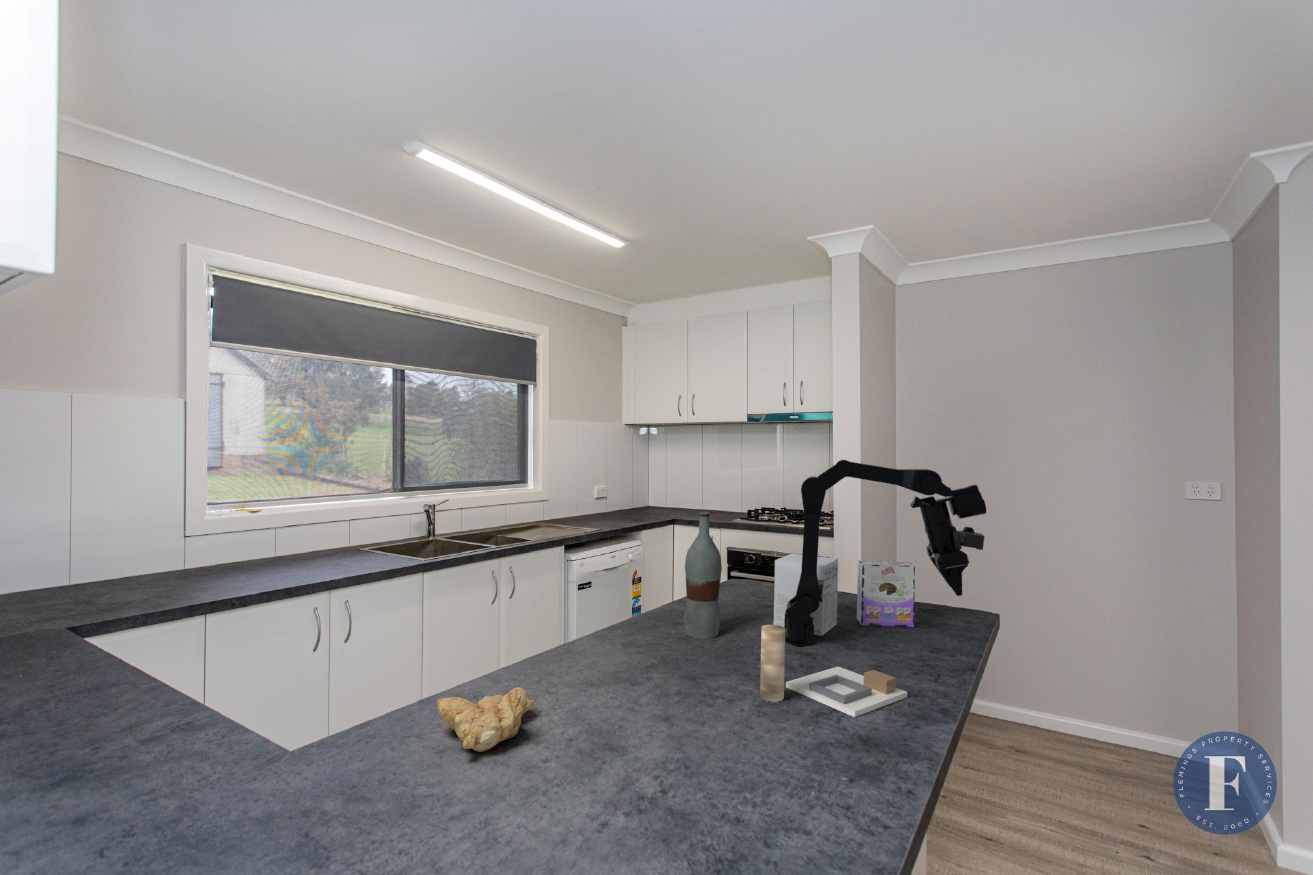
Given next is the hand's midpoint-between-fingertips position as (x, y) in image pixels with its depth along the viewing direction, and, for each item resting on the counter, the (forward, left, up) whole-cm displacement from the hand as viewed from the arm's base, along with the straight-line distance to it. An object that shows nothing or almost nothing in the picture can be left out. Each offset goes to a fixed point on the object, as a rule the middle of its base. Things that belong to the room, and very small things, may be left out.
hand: (956, 590), depth 143 cm
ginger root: (-21, -101, -16) cm, 105 cm away
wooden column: (-7, -51, -15) cm, 54 cm away
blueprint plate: (-1, -37, -15) cm, 40 cm away
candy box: (-25, +11, -15) cm, 31 cm away
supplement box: (-35, -9, -15) cm, 40 cm away
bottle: (-44, -37, -15) cm, 60 cm away
